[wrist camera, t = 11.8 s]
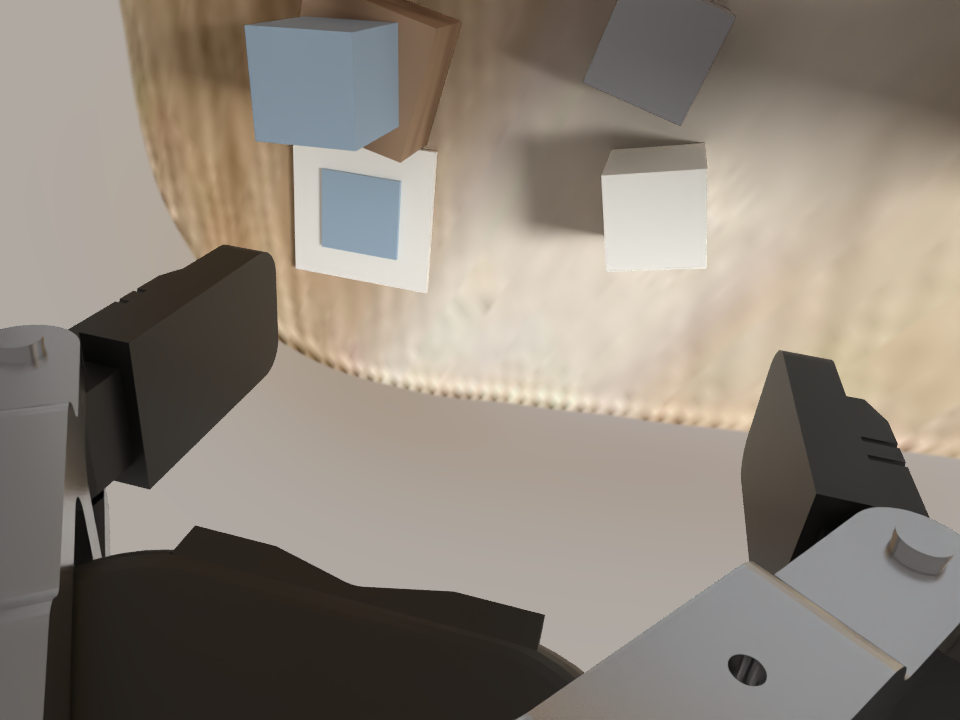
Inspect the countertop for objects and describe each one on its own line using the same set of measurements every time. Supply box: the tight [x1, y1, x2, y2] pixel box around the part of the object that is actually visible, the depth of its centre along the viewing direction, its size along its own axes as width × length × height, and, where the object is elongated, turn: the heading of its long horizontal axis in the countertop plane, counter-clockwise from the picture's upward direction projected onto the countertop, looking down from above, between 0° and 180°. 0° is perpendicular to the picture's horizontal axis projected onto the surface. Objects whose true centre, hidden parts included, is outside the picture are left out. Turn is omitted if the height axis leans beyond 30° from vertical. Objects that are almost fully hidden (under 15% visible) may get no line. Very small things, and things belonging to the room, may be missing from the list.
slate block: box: [244, 16, 399, 151], centre depth 37 cm, size 5×5×6 cm
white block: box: [601, 143, 707, 272], centre depth 41 cm, size 5×5×6 cm
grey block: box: [583, 0, 736, 126], centre depth 37 cm, size 5×5×6 cm
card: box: [293, 145, 438, 293], centre depth 48 cm, size 9×9×1 cm
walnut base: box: [299, 0, 462, 163], centre depth 41 cm, size 7×7×5 cm
